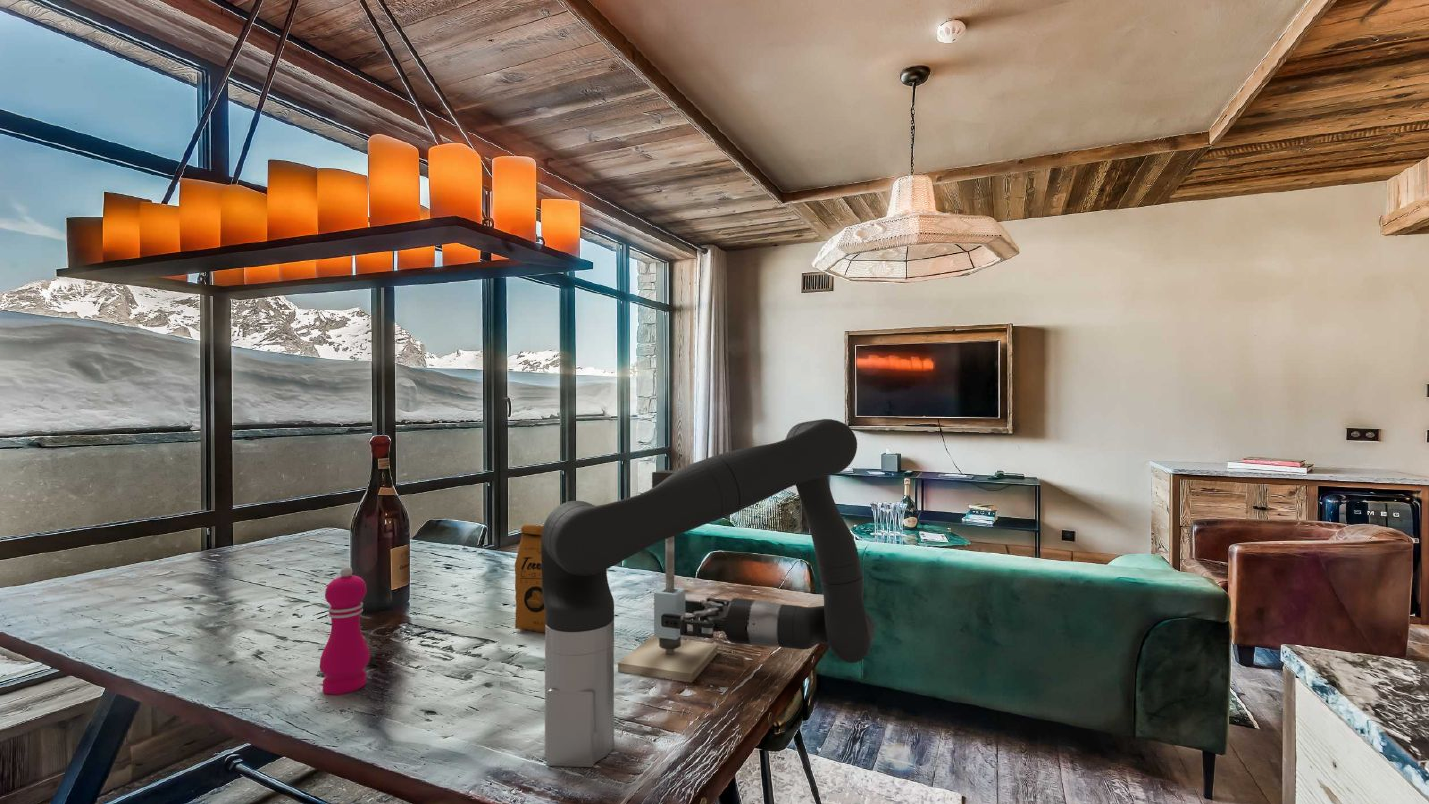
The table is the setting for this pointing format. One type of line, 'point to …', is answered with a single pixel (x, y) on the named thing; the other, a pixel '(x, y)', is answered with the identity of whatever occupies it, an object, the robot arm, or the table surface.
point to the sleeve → (668, 611)
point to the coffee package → (529, 581)
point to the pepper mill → (345, 636)
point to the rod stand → (668, 654)
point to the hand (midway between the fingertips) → (671, 612)
